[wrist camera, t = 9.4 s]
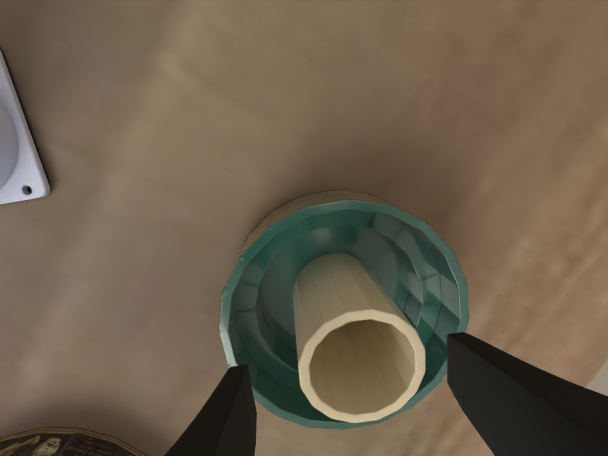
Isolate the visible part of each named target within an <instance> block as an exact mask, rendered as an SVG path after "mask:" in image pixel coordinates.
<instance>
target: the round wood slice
mask: <svg viewBox="0 0 608 456" xmlns="http://www.w3.org/2000/svg"><path fill="white" fill-rule="evenodd" d="M0 456H145V455H144V454H142V453H140V452H139V451H137V450H135V449H133V448H132V447H130V446H128V445H127V444H125V443H123V442H122V441H120V440H118V439H115V438H112V437H108V436H105V435H101V434H98V433H94V432H90V431H87V430H83V429H64V428H40V429H36V430H32V431H27V432H23V433H19V434H14V435H10V436H6V437H5V438H3V439H1V440H0Z"/></svg>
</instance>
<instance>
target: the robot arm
mask: <svg viewBox="0 0 608 456" xmlns="http://www.w3.org/2000/svg"><path fill="white" fill-rule="evenodd" d="M28 186H29V187H31V189H32V193H29V192H28V189H27V188H28ZM49 192H50V186H49V184H48V181H47V178H46V175H45V172H44V170H43V167H42V164H41V161H40V158H39V156H38V153H37V150H36V147H35V145H34V142H33V139H32V136H31V133H30V131H29V128H28V125H27V122H26V119H25V117H24V114H23V111H22V108H21V105H20V103H19V100H18V97H17V94H16V91H15V89H14V86H13V83H12V80H11V77H10V75H9V72H8V69H7V66H6V63H5V61H4V58H3V55H2V52H1V50H0V204H5V203H11V202H17V201H22V200H28V199H34V198H39V197H44V196H47V195H48V194H49ZM447 383H448V385H449V387H450V389H451V390H452V392H453V394H454V396H455V398H456V400H457V401H458V403H459V405H460V407H461V408H462V410H463V412H464V413H465V415H466V416H467V417H468V419H469V420H470V422H471V423H472V424H473V426H474V427H475V429H476V430H477V431H478V433H479V434H480V436H481V437H482V438H483V440H484V441H485V443H486V444H487V445H488V447H489V448H490V449H491V451H492V452H493V454H494V455H495V456H608V396H605V395H602V394H600V393H597V392H595V391H592V390H589V389H587V388H584V387H581V386H579V385H576V384H574V383H571V382H569V381H566V380H564V379H562V378H559V377H557V376H555V375H552V374H550V373H548V372H546V371H543V370H541V369H539V368H537V367H535V366H533V365H530V364H528V363H526V362H524V361H522V360H520V359H518V358H516V357H514V356H512V355H510V354H508V353H506V352H504V351H502V350H500V349H498V348H496V347H494V346H492V345H490V344H488V343H486V342H484V341H482V340H480V339H478V338H476V337H474V336H471V335H469V334H467V333H465V332H459V333H452V334H447ZM256 419H257V412H256V407H255V401H254V396H253V390H252V385H251V380H250V374H249V369H248V364H246V365H240V366H233V367H230V368H229V369H228V371H227V372H226V374H225V375H224V377H223V378H222V380H221V381H220V383H219V384H218V386H217V387H216V389H215V390H214V392H213V393H212V395H211V396H210V398H209V399H208V401H207V402H206V403H205V405H204V406H203V408H202V409H201V410H200V412H199V413H198V415H197V416H196V417H195V419H194V420H193V421H192V422H191V424H190V425H189V426H188V428H187V429H186V430H185V431H184V433H183V434H182V435H181V437H180V438H179V439H178V440H177V441H176V443H175V444H174V445H173V446H172V447H171V448H170V450H169V451H168V452H167V453H166V454H165V455H164V456H254V453H255V445H256Z"/></svg>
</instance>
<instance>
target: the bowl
mask: <svg viewBox="0 0 608 456" xmlns="http://www.w3.org/2000/svg"><path fill="white" fill-rule="evenodd" d="M331 253H342V254H347V255H350V256H353V257H355V258H357V259H358V260H360V261H361V262H362V263H363V264H365V265H366V267H367V268H368V269H370V271H371V272H372V273H373V274H374V276H375V277H376V278H377V280H378V281H379V282H380V284H381V285H382V286H383V288H384V289H385V290H386V292H387V293H388V294H389V295H390V297H391V298H392V299H393V301H394V302H395V303H396V305H397V306H398V307H399V309H400V310H401V311H402V313H403V314H404V315H405V316H406V318H407V319H408V320H409V322H410V323H411V324H412V326H413V327H414V328H415V330H416V331H417V333H418V335H419V337H420V339H421V341H422V343H423V345H424V348H425V374H424V376H423V379H422V381H421V383H420V385H419V388H418V390H417V392H416V394H415V395H414V396H413V397H412V398H411V399H410V400H409V401H408V402H407V403H406V404H405V405H404V406H403V407H402V408H401V409H399V410H398V411H395V412H393V413H391V414H389V415H387V416H385V417H383V418H381V419H379V420H375V421H368V422H360V423H350V422H345V421H341V420H336V419H332V418H330V417H328V416H327V415H325V414H324V413H322V412H320V411H319V410H317V409H316V408H314V407H313V406H312V405H311V403H310V402H309V400H308V398H307V397H306V395H305V394H304V392H303V391H302V389H301V386H300V379H299V370H298V359H297V346H296V333H295V320H294V307H293V287H294V283H295V280H296V278H297V276H298V274H299V272H300V271H301V270H302V268H303V267H304V266H305V265H306V264H308V263H309V262H310V261H312V260H313V259H315V258H317V257H319V256H322V255H325V254H331ZM468 321H469V309H468V290H467V282H466V280H465V278H464V275H463V273H462V271H461V268H460V266H459V264H458V261H457V259H456V256H455V254H454V252H453V250H452V249H451V248H450V247H449V245H448V244H447V243H446V242H445V241H444V240H443V239H442V238H441V237H440V236H439V235H438V234H437V233H436V232H435V231H434V230H433V229H432V227H431V226H430V225H429V224H428V223H426V222H425V221H423V220H421V219H419V218H417V217H415V216H413V215H411V214H409V213H407V212H405V211H403V210H401V209H399V208H397V207H395V206H393V205H391V204H389V203H387V202H385V201H382V200H380V199H378V198H376V197H374V196H372V195H369V194H362V193H355V192H348V191H341V190H332V191H326V192H321V193H315V194H309V195H304V196H302V197H299V198H297V199H295V200H293V201H291V202H289V203H288V204H286V205H284V206H282V207H280V208H278V209H276V210H274V211H273V212H272V213H270V214H269V215H268V216H267V217H266V218H265V219H264V220H263V221H262V222H261V223H260V224H259V225H258V226H257V227H256V228H255V230H254V231H253V232H252V233H251V234H250V235H249V236H248V237H247V239H246V241H245V243H244V245H243V247H242V250H241V252H240V254H239V256H238V258H237V260H236V262H235V264H234V267H233V269H232V271H231V274H230V276H229V278H228V281H227V283H226V285H225V288H224V290H223V293H222V300H221V310H220V321H219V334H220V338H221V342H222V345H223V349H224V353H225V357H226V361H227V364H228V367H229V368H230V367H233V366H240V365H246V364H248V369H249V374H250V380H251V385H252V390H253V396H254V400H256V401H257V402H258V403H260V404H261V405H262V406H264V407H265V408H266V409H268V410H269V411H270V412H272V413H273V414H274V415H276V416H278V417H281V418H284V419H287V420H289V421H292V422H295V423H298V424H301V425H303V426H306V427H310V428H325V429H340V430H344V429H345V430H346V429H351V428H356V427H361V426H366V425H371V424H376V423H380V422H383V421H385V420H387V419H389V418H391V417H393V416H395V415H397V414H399V413H401V412H403V411H405V410H407V409H409V408H411V407H412V406H414V405H415V404H417V403H418V402H419V401H420V400H421V399H422V398H423V397H425V396H426V395H427V394H428V393H429V392H430V391H431V390H433V389H434V388H435V387H436V386H437V385H438V384H439V383H440V382H441V381H442V379H443V378H444V376H445V375H446V373H447V334H452V333H459V332H466V328H467V324H468Z"/></svg>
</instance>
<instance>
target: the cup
mask: <svg viewBox="0 0 608 456" xmlns="http://www.w3.org/2000/svg"><path fill="white" fill-rule="evenodd" d="M293 307H294V320H295V333H296V346H297V359H298V370H299V379H300V386H301V389H302V391H303V392H304V394H305V395H306V397H307V398H308V400H309V402H310V403H311V405H312V406H313V407H314V408H316V409H317V410H319V411H320V412H322V413H324V414H325V415H327V416H328V417H330V418H332V419H336V420H341V421H345V422H350V423H360V422H368V421H375V420H379V419H381V418H383V417H385V416H387V415H389V414H391V413H393V412H395V411H398V410H399V409H401V408H402V407H403V406H404V405H405V404H406V403H407V402H408V401H409V400H410V399H411V398H412V397H413V396H414V395H415V394H416V392H417V390H418V388H419V385H420V383H421V381H422V379H423V376H424V374H425V348H424V345H423V343H422V341H421V339H420V337H419V335H418V333H417V331H416V330H415V328H414V327H413V326H412V324H411V323H410V322H409V320H408V319H407V318H406V316H405V315H404V314H403V313H402V311H401V310H400V309H399V307H398V306H397V305H396V303H395V302H394V301H393V299H392V298H391V297H390V295H389V294H388V293H387V292H386V290H385V289H384V288H383V286H382V285H381V284H380V282H379V281H378V280H377V278H376V277H375V276H374V274H373V273H372V272H371V271H370V269H368V268H367V267H366V265H365V264H363V263H362V262H361V261H360V260H358V259H357V258H355V257H353V256H350V255H347V254H342V253H331V254H325V255H322V256H319V257H317V258H315V259H313V260H312V261H310V262H309V263H308V264H306V265H305V266H304V267H303V268H302V270H301V271H300V272H299V274H298V276H297V278H296V280H295V283H294V287H293Z"/></svg>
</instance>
